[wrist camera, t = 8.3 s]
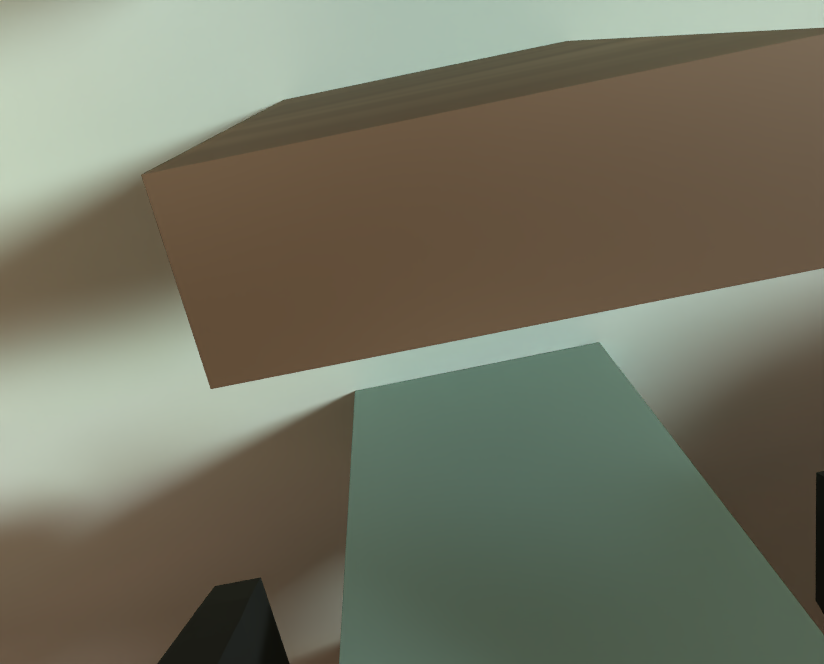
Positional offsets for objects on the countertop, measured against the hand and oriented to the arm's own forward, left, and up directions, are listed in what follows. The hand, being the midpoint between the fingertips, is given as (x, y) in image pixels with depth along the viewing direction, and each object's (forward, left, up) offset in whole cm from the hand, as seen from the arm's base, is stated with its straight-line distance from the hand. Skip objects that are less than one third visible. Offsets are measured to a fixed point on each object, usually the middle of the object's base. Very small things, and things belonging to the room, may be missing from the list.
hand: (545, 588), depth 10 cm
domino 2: (0, 0, -5) cm, 5 cm away
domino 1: (+3, -5, -5) cm, 8 cm away
